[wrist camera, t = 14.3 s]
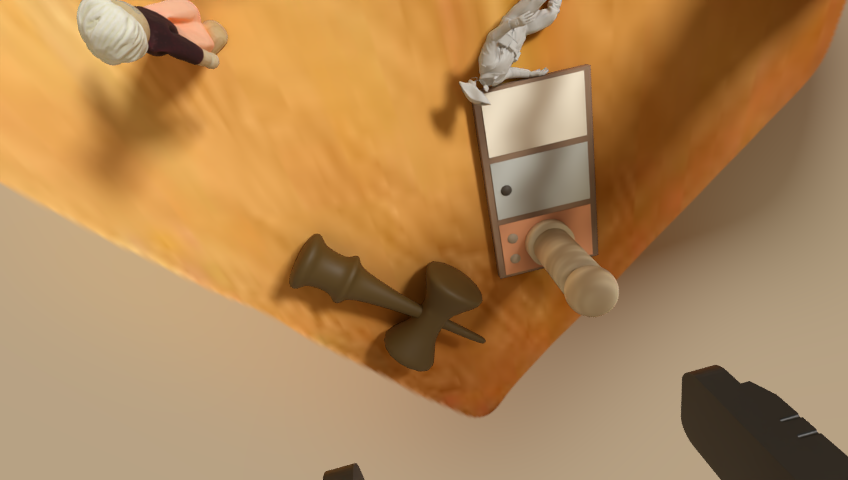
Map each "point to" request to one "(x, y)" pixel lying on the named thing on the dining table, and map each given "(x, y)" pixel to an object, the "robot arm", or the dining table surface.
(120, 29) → the grandmother figurine
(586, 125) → the board
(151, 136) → the dining table surface
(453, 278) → the kendama
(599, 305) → the pawn
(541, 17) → the soldier figure
